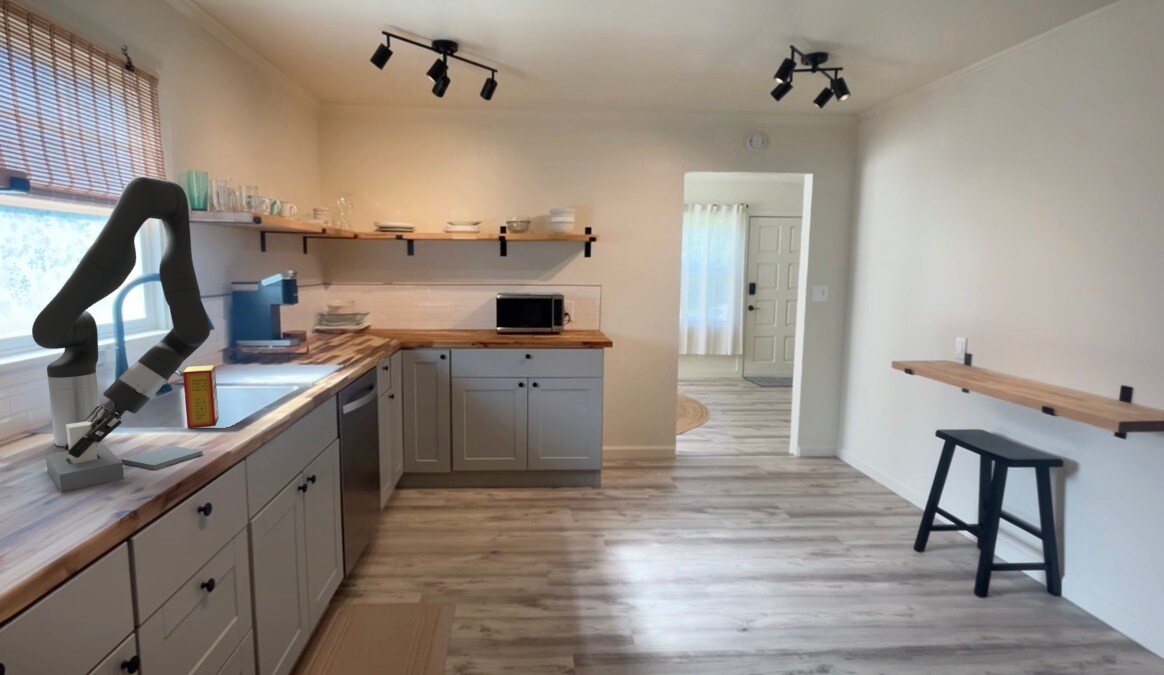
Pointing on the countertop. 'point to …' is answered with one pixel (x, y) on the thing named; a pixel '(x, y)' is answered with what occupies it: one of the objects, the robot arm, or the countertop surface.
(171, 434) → the countertop surface
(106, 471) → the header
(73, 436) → the tall cream white pillar
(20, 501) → the countertop surface
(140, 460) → the mat
